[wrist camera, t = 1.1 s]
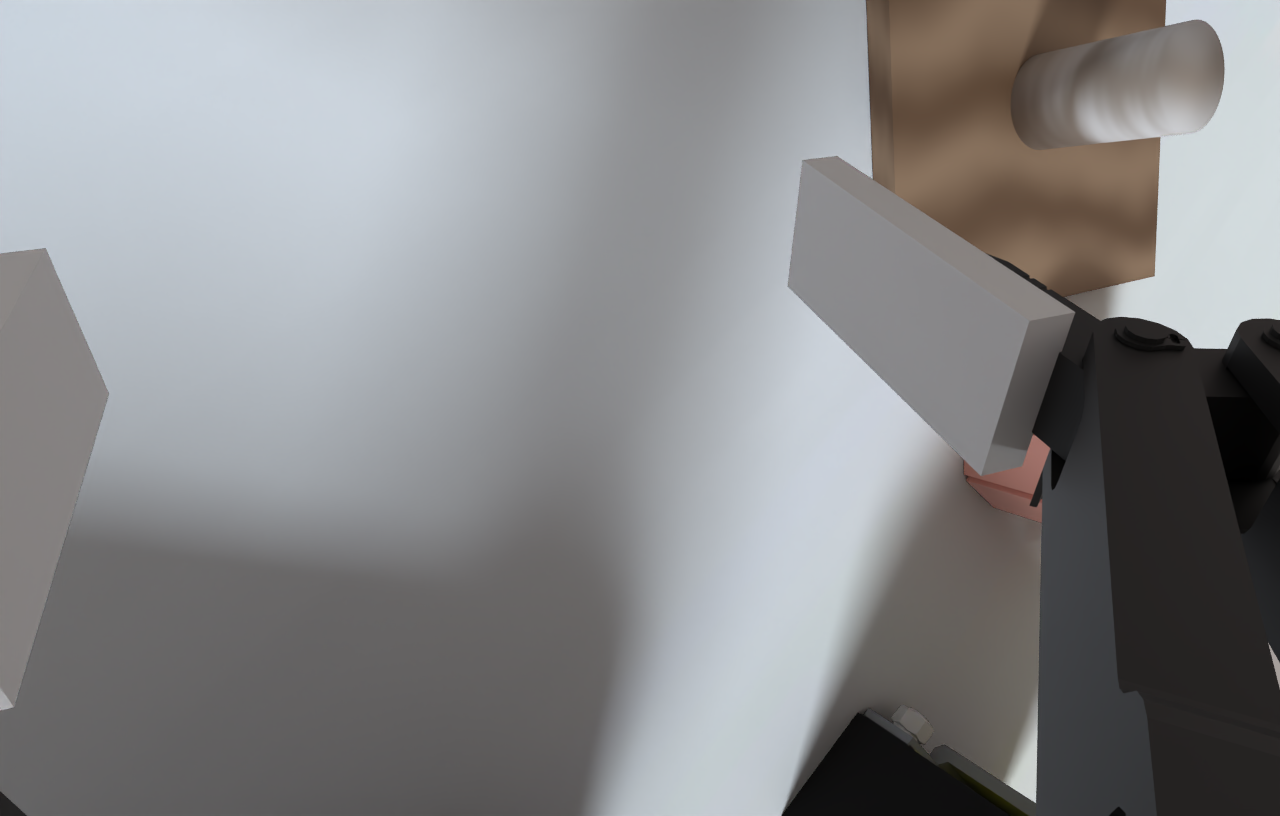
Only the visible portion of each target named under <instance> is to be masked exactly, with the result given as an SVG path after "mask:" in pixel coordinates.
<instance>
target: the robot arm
mask: <svg viewBox="0 0 1280 816" xmlns="http://www.w3.org/2000/svg"><path fill="white" fill-rule="evenodd" d="M788 287H789V288H790V289H791V290H792V291H793V292H794V293H795V294H796V295H797V296H798V297H799V298H800V299H801V300H802V301H803V302H804V303H805V304H806V305H807V306H808V307H809V308H810V309H811V310H812V311H813V312H814V313H815V314H816V315H817V316H818V317H819V318H820V319H821V320H822V321H823V322H824V323H825V324H826V325H828V326H829V327H830V328H831V329H832V330H833V331H834V332H835V333H836V334H837V335H838V336H839V337H840V338H841V339H842V340H843V341H844V342H845V343H846V344H847V345H848V346H849V347H850V348H851V349H852V350H853V351H854V352H855V353H856V354H857V355H858V356H859V357H860V358H861V359H862V360H863V361H864V362H865V363H866V364H867V365H868V366H869V367H870V368H871V369H872V370H873V371H874V372H875V373H876V374H877V375H878V376H879V377H880V378H881V379H882V380H884V381H885V382H886V383H887V384H888V385H889V386H890V387H891V388H892V389H893V390H894V391H895V392H896V393H897V394H898V395H899V396H900V397H901V398H902V399H903V400H904V401H905V402H906V403H907V404H908V405H909V406H910V407H911V408H912V409H913V410H914V411H915V412H916V413H917V414H918V415H919V416H920V417H921V418H922V419H923V420H924V421H925V422H926V423H927V424H928V425H929V426H930V427H931V428H932V429H933V430H934V431H935V432H936V433H937V434H938V435H940V436H941V437H942V438H943V439H944V440H945V441H946V442H947V443H948V444H949V445H950V446H951V447H952V448H953V449H954V450H955V451H956V452H957V453H958V454H959V455H960V456H961V457H962V458H963V459H964V460H965V461H966V462H967V463H968V464H969V465H970V466H971V467H972V468H973V469H974V470H975V471H976V472H977V473H978V474H979V475H980V476H984V475H988V474H992V473H996V472H1000V471H1005V470H1009V469H1013V468H1017V467H1021V466H1022V465H1023V462H1024V459H1025V456H1026V453H1027V450H1028V448H1029V445H1030V442H1031V439H1032V436H1033V434H1034V435H1035V436H1037V437H1038V438H1039V439H1040V440H1041V441H1042V442H1044V443H1045V444H1046V445H1047V446H1048V447H1049V448H1050V450H1049V453H1048V456H1047V459H1046V461H1045V464H1044V467H1043V470H1042V472H1041V475H1040V478H1039V481H1038V483H1037V486H1036V489H1035V491H1034V494H1033V497H1032V500H1031V502H1030V505H1029V506H1032V507H1037V506H1038V504H1039V502H1040V500H1041V499H1042V536H1041V587H1040V637H1039V687H1038V738H1037V788H1036V816H1280V689H1279V684H1278V681H1277V676H1276V672H1275V669H1274V665H1273V661H1272V657H1271V653H1270V649H1269V645H1270V646H1271V648H1272V650H1273V652H1274V653H1275V655H1276V657H1277V658H1278V660H1279V662H1280V320H1275V319H1251V320H1248V321H1245V322H1242V323H1241V324H1240V325H1239V327H1238V328H1237V330H1236V332H1235V334H1234V336H1233V338H1232V341H1231V343H1230V345H1229V347H1228V349H1196V348H1193V347H1192V345H1191V343H1190V342H1189V340H1188V339H1187V338H1185V337H1184V336H1182V335H1181V334H1180V333H1178V332H1177V331H1175V330H1173V329H1171V328H1168V327H1166V326H1164V325H1161V324H1159V323H1155V322H1151V321H1147V320H1143V319H1139V318H1128V317H1116V318H1107V319H1104V320H1102V321H1100V320H1098V319H1096V318H1095V317H1093V316H1092V315H1090V314H1089V313H1087V312H1086V311H1084V310H1083V309H1081V308H1079V307H1078V306H1076V305H1075V304H1073V303H1072V302H1070V301H1069V300H1067V299H1065V298H1064V297H1062V296H1061V295H1059V294H1058V293H1056V292H1055V291H1053V290H1052V289H1050V290H1047V286H1045V285H1044V284H1042V283H1041V282H1039V281H1038V280H1036V279H1035V278H1031V279H1030V275H1028V274H1027V273H1025V272H1024V271H1022V270H1021V269H1019V268H1018V267H1016V266H1014V265H1013V264H1011V263H1010V262H1008V261H1005V260H1003V259H1000V258H997V257H995V256H992V255H989V254H987V253H984V252H983V251H981V250H980V249H978V248H976V247H975V246H973V245H972V244H970V243H969V242H967V241H966V240H964V239H963V238H961V237H960V236H958V235H957V234H955V233H954V232H952V231H951V230H949V229H948V228H946V227H944V226H943V225H941V224H940V223H938V222H937V221H935V220H934V219H932V218H931V217H929V216H928V215H926V214H925V213H923V212H922V211H920V210H919V209H917V208H915V207H914V206H912V205H911V204H909V203H908V202H906V201H905V200H903V199H902V198H900V197H899V196H897V195H896V194H894V193H893V192H891V191H890V190H888V189H886V188H885V187H883V186H882V185H880V184H879V183H877V182H876V181H874V180H873V179H871V178H870V177H868V176H867V175H865V174H864V173H862V172H861V171H859V170H857V169H856V168H854V167H853V166H851V165H850V164H848V163H847V162H845V161H844V160H842V159H841V158H839V157H838V156H834V157H826V158H817V159H809V160H802V169H801V177H800V185H799V194H798V202H797V211H796V219H795V227H794V236H793V244H792V253H791V261H790V269H789V278H788ZM108 396H109V392H108V390H107V388H106V386H105V383H104V381H103V379H102V376H101V374H100V372H99V369H98V367H97V365H96V363H95V360H94V358H93V356H92V353H91V351H90V349H89V347H88V344H87V342H86V340H85V337H84V335H83V333H82V331H81V328H80V326H79V324H78V321H77V319H76V317H75V314H74V312H73V310H72V308H71V305H70V303H69V301H68V298H67V296H66V294H65V292H64V289H63V287H62V285H61V282H60V280H59V278H58V276H57V273H56V271H55V269H54V266H53V264H52V262H51V259H50V257H49V255H48V253H47V250H46V248H44V249H35V250H27V251H18V252H10V253H1V254H0V711H1V710H5V709H10V708H14V706H15V703H16V699H17V696H18V693H19V690H20V686H21V683H22V680H23V676H24V673H25V670H26V667H27V663H28V660H29V657H30V653H31V650H32V647H33V643H34V640H35V637H36V634H37V630H38V627H39V624H40V620H41V617H42V614H43V610H44V607H45V604H46V601H47V597H48V594H49V591H50V587H51V584H52V581H53V577H54V574H55V571H56V568H57V564H58V561H59V558H60V554H61V551H62V548H63V544H64V541H65V538H66V535H67V531H68V528H69V525H70V521H71V518H72V515H73V511H74V508H75V505H76V502H77V498H78V495H79V492H80V488H81V485H82V482H83V478H84V475H85V472H86V469H87V465H88V462H89V459H90V455H91V452H92V449H93V445H94V442H95V439H96V436H97V432H98V429H99V426H100V422H101V419H102V416H103V412H104V409H105V406H106V403H107V399H108ZM1268 643H1269V645H1268ZM0 816H26V815H25V814H24V813H23V812H22V811H21V810H20V809H19V808H18V807H17V806H16V805H14V804H13V803H12V802H11V801H10V800H9V799H8V798H7V797H6V796H5V795H4V794H2V793H1V792H0Z"/></svg>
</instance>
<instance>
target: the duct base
mask: <svg viewBox="0 0 1280 816" xmlns="http://www.w3.org/2000/svg"><path fill="white" fill-rule="evenodd" d="M866 4H867V30H868V56H869V83H870V109H871V136H872V162H873V180H874V181H876V182H877V183H879V184H880V185H882V186H883V187H885V188H886V189H888V190H890V191H891V192H893V193H894V194H896V195H897V196H899V197H900V198H902V199H903V200H905V201H906V202H908V203H909V204H911V205H912V206H914V207H915V208H917V209H919V210H920V211H922V212H923V213H925V214H926V215H928V216H929V217H931V218H932V219H934V220H935V221H937V222H938V223H940V224H941V225H943V226H944V227H946V228H948V229H949V230H951V231H952V232H954V233H955V234H957V235H958V236H960V237H961V238H963V239H964V240H966V241H967V242H969V243H970V244H972V245H973V246H975V247H976V248H978V249H980V250H981V251H983V252H984V253H987V254H989V255H992V256H995V257H997V258H1000V259H1003V260H1005V261H1008V262H1010V263H1011V264H1013V265H1014V266H1016V267H1018V268H1019V269H1021V270H1022V271H1024V272H1025V273H1027V274H1028V275H1030V279H1031V278H1035V279H1036V280H1038V281H1039V282H1041V283H1042V284H1044V285H1045V286H1047V290H1050V289H1052V290H1053V291H1055V292H1056V293H1058V294H1059V295H1061V296H1062V297H1066V296H1070V295H1074V294H1079V293H1083V292H1087V291H1092V290H1096V289H1100V288H1105V287H1109V286H1113V285H1118V284H1122V283H1126V282H1131V281H1135V280H1140V279H1144V278H1148V277H1153V276H1155V253H1156V229H1157V205H1158V181H1159V157H1160V137H1163V136H1172V135H1182V134H1191V133H1195V132H1197V131H1199V130H1201V129H1202V128H1203V127H1205V126H1206V125H1207V123H1208V122H1209V121H1210V120H1211V118H1212V116H1213V115H1214V113H1215V111H1216V109H1217V106H1218V104H1219V101H1220V98H1221V94H1222V90H1223V83H1224V56H1223V51H1222V47H1221V43H1220V40H1219V38H1218V36H1217V34H1216V32H1215V31H1214V29H1213V28H1212V27H1211V26H1210V25H1209V24H1208V23H1206V22H1204V21H1202V20H1191V21H1187V22H1182V23H1178V24H1173V25H1169V26H1165V13H1166V0H866Z"/></svg>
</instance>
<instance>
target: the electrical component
mask: <svg viewBox="0 0 1280 816" xmlns="http://www.w3.org/2000/svg"><path fill="white" fill-rule="evenodd" d="M891 719H892V721H893V723H891V722H889V721H888V720H886V719H885V718H883V717H882V716H880V715H879V714H877V713H876V712H874V711H873V710H871V709H870V708H868V710H867V711H866V712H865V714H864V715H861V714H860V713H857V714H856V716H855V717H854V718H853V720H852V721H851V722H850V724H849V725H848V726H847V728H846V729H845V731H844V732H843V733H842V735H841V736H840V737H839V739H838V740H837V741H836V743H835V744H834V745H833V747H832V748H831V749H830V751H829V752H828V754H827V755H826V756H825V758H824V759H823V760H822V762H821V763H820V764H819V766H818V767H817V768H816V770H815V771H814V772H813V774H812V775H811V777H810V778H809V779H808V781H807V782H806V783H805V785H804V786H803V787H802V789H801V790H800V791H799V793H798V794H797V795H796V797H795V798H794V800H793V801H792V802H791V804H790V805H789V806H788V808H787V809H786V810H785V812H784V813H783V814H782V816H1036V803H1034V802H1033V801H1031V800H1030V799H1028V798H1027V797H1025V796H1024V795H1022V794H1020V793H1019V792H1017V791H1016V790H1014V789H1013V788H1011V787H1010V786H1008V785H1006V784H1005V783H1003V782H1002V781H1000V780H999V779H997V778H996V777H994V776H992V775H991V774H989V773H988V772H986V771H985V770H983V769H982V768H980V767H978V766H977V765H975V764H974V763H972V762H971V761H969V760H968V759H966V758H964V757H963V756H961V755H960V754H958V753H957V752H955V751H954V750H952V749H950V748H949V747H947V746H946V745H942V746H939V747H936V748H934V750H933V751H932V752H931V754H930V755H929V754H928V753H927V752H926V751H925V750H924V749H923V748H922V746H921V745H920V744H926V742H927V741H928V740H929V738H930V737H931V735H932V734H933V732H934V730H933V727H932V726H931V724H929V723H928V722H929V721H928V720H927V719H926V717H924V716H923V715H922V714H921V713H919V712H918V711H917V710H915V709H913V708H909V707H907V706H905V705H903V706H900V707H899V708H898V709H897V711H896V712H895V713H894V715H893V716H892V718H891Z"/></svg>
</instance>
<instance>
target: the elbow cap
mask: <svg viewBox="0 0 1280 816" xmlns="http://www.w3.org/2000/svg"><path fill="white" fill-rule="evenodd" d="M1049 450H1050V448H1049V447H1048V446H1047V445H1046V444H1045V443H1044V442H1042V441H1041V440H1040V439H1039V438H1038V437H1037V436H1035V435H1034V434H1033V436H1032V439H1031V442H1030V445H1029V448H1028V450H1027V453H1026V456H1025V459H1024V462H1023V465H1022V466H1021V467H1017V468H1013V469H1009V470H1005V471H1000V472H996V473H992V474H988V475H984V476H980V475H979V474H978V473H977V472H976V471H975V470H974V469H973V468H972V467H971V466H970V465H969V464H968V463H967V462H966V461H965V460H964V475H967V476H968V478H967V480H966V481H967V482H968V483H969V484H970V485H971V486H972V487H973V488H974V489H975V490H976V491H977V492H978V493H979V494H980V495H981V496H982V497H983V498H984V499H985V500H986V501H987V502H988V503H989V504H990V505H992V506H993V507H994V508H996V509H1000V510H1003V511H1006V512H1009V513H1012V514H1015V515H1018V516H1021V517H1025V518H1028V519H1031V520H1034V521H1037V522H1040V523H1042V499H1041V500H1040V502H1039V504H1038V506H1037V507H1032V506H1029V505H1030V502H1031V500H1032V497H1033V494H1034V491H1035V489H1036V486H1037V483H1038V481H1039V478H1040V475H1041V472H1042V470H1043V467H1044V464H1045V461H1046V459H1047V456H1048V453H1049Z"/></svg>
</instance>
